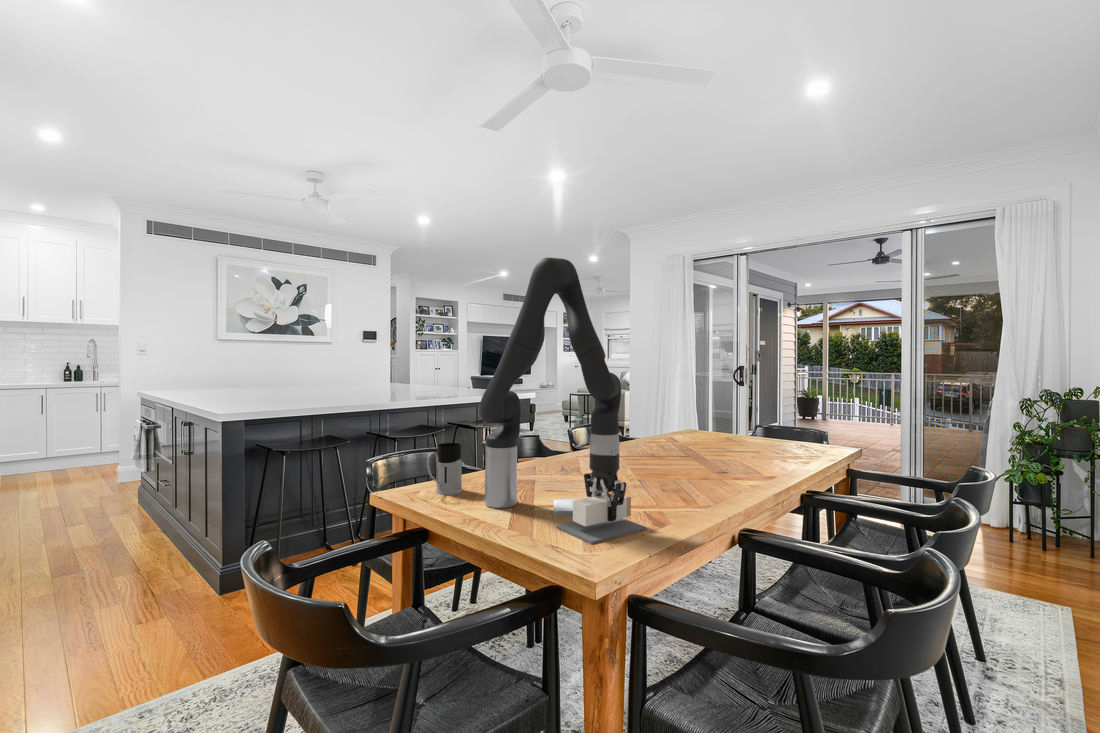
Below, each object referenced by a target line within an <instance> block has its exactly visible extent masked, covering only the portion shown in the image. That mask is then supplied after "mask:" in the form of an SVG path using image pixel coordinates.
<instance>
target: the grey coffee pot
mask: <svg viewBox="0 0 1100 733" xmlns="http://www.w3.org/2000/svg"><path fill="white" fill-rule="evenodd" d="M436 447H437V448H436V449H437V451H436V452H434V451H433V452H432V451H431V452H430V453H428V454H427V458H426V468H427V471H428V472H427V473H428V474H429V477H430V478H431V479H432V480H433V481H434V482H435V483H436V489H435V491H434V493H436V494H437V495H441V496H442V495H443V496H449V495H451V496H452V495H458V494H462V493H463V491H464V489H463V487H462V484H463V483H462V464H463V463H462V462H463V461H462V457H463V456H462V444H461V443H458V442H444V443H439V444H437V446H436ZM433 454H434V456H435V461H436V462H435V463H436V478H435V477H434V476H433V474H432V472H431V468H430V457H431V456H432V455H433Z"/></svg>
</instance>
